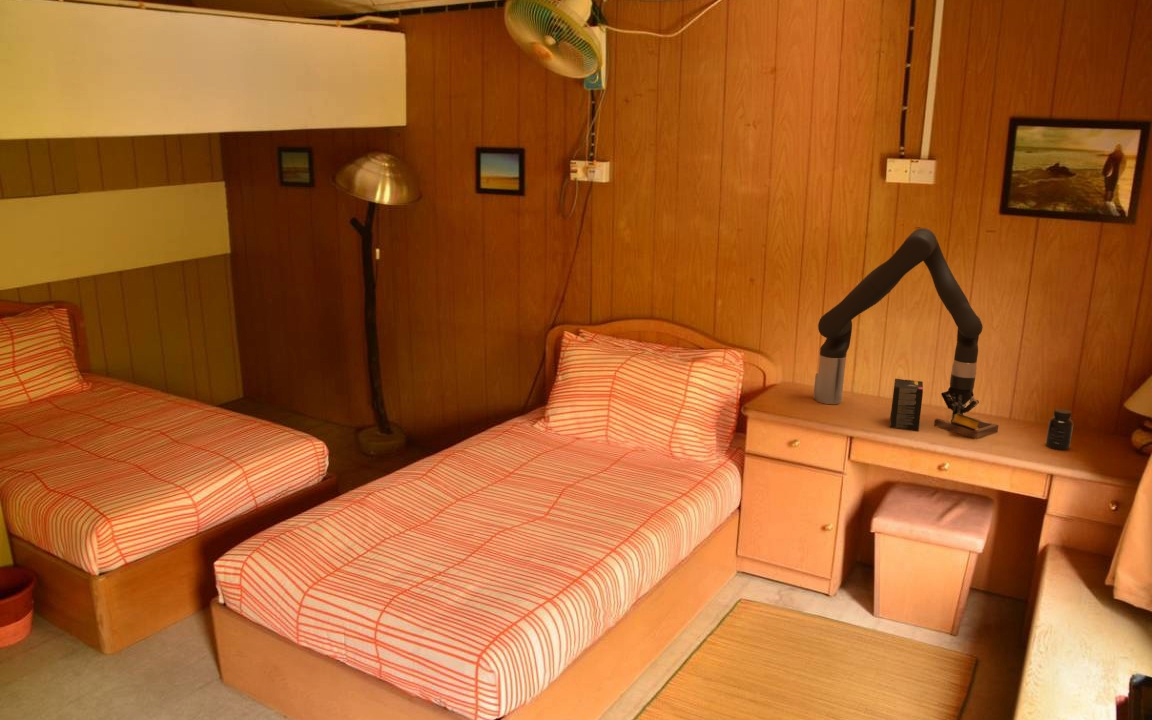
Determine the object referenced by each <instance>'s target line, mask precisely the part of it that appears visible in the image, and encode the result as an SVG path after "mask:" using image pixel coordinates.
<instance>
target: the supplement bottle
mask: <svg viewBox="0 0 1152 720" xmlns="http://www.w3.org/2000/svg"><path fill="white" fill-rule="evenodd" d="M1053 411H1054V412H1053V417H1051V418H1050V419H1049V421H1048V428H1047V434H1046V440H1045V441H1046V442H1045V445H1046V447H1048V448H1049V449H1050V448H1051V449H1053V450H1056V449H1057V451H1067V450H1069V449H1070V447H1071V443H1072V436H1073V429H1074V422H1073V420H1072V411H1071V410H1068V409H1064V408H1063V409H1062V408H1057V409H1054V410H1053Z"/></svg>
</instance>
